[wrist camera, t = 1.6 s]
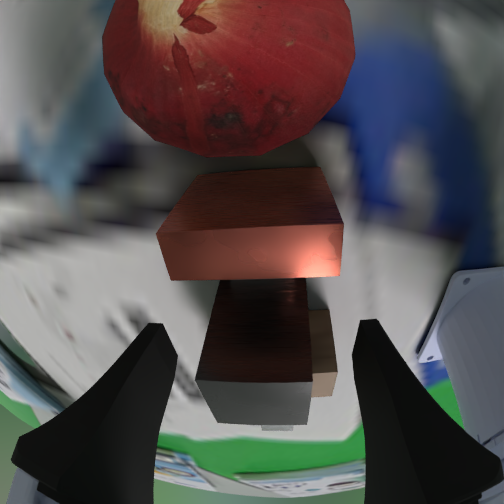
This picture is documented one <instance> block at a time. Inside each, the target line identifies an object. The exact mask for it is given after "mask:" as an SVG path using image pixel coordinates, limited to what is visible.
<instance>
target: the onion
mask: <svg viewBox="0 0 504 504" xmlns="http://www.w3.org/2000/svg"><path fill="white" fill-rule="evenodd" d="M102 43H103V63H104V75H105V77H106V79H107V81H108V83H109V85H110V87H111V89H112V91H113V93H114V95H115V97H116V99H117V101H118V103H119V105H120V107H121V109H122V110H123V112H124V113H125V114H126V115H127V116H128V117H129V118H131V119H132V120H133V121H134V122H135V123H136V124H137V125H138V126H139V127H141V128H142V129H143V130H144V131H145V132H146V133H147V134H148V135H149V136H151V137H152V138H153V139H154V140H155V141H159V142H162V143H165V144H169V145H172V146H175V147H178V148H181V149H184V150H187V151H190V152H193V153H196V154H199V155H201V156H204V157H226V156H260V155H262V154H264V153H267V152H269V151H271V150H273V149H275V148H277V147H279V146H281V145H283V144H286V143H288V142H290V141H292V140H294V139H297V138H299V137H301V136H303V135H306V134H308V133H309V132H310V131H311V130H312V129H313V127H314V126H315V125H316V124H317V123H318V122H319V121H320V120H321V119H322V117H323V116H324V115H325V114H326V113H327V112H328V111H329V110H330V109H331V108H332V107H333V105H334V104H335V103H336V102H337V101H338V100H339V99H340V97H341V94H342V92H343V89H344V86H345V84H346V81H347V78H348V75H349V73H350V70H351V67H352V65H353V62H354V59H355V46H354V37H353V30H352V22H351V16H350V11H349V8H348V7H347V5H346V3H345V1H344V0H116V1H115V3H114V6H113V8H112V11H111V14H110V16H109V19H108V22H107V25H106V27H105V30H104V33H103V36H102Z"/></svg>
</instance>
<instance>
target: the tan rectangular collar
mask: <svg viewBox="0 0 504 504" xmlns="http://www.w3.org/2000/svg"><path fill="white" fill-rule="evenodd" d="M308 312H309V325H310V339H311V354H312V372H313V386H312V393H311V397H325V396H332V393H333V389H334V385H335V381H336V377H337V373H338V370H337V362H336V354H335V346H334V338H333V331H332V324H331V317H330V311H329V310H308Z"/></svg>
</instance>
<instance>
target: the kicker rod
mask: <svg viewBox="0 0 504 504" xmlns="http://www.w3.org/2000/svg"><path fill="white" fill-rule="evenodd" d="M343 229H344V223H343V221H342V218H341V215H340V213H339V210H338V208H337V205H336V203H335V200H334V198H333V196H332V193H331V191H330V188H329V186H328V184H327V181H326V179H325V177H324V174H323V172H322V170H321V168H320V167H300V168H278V169H261V170H247V171H235V172H224V173H213V174H203V175H198V176H197V177H196V178H195V180H194V181H193V182H192V184H191V185H190V186H189V188H188V189H187V190H186V192H185V193H184V194H183V196H182V197H181V199H180V200H179V201H178V203H177V204H176V205H175V207H174V208H173V210H172V211H171V212H170V214H169V215H168V217H167V218H166V220H165V221H164V222H163V224H162V225H161V227H160V228H159V230H158V231H157V233H156V235H157V239H158V242H159V245H160V248H161V252H162V255H163V258H164V261H165V264H166V267H167V270H168V273H169V276H170V279H171V281H174V280H220V282H219V286H218V290H217V294H216V298H215V301H214V305H213V309H212V313H211V317H210V321H209V325H208V329H207V333H206V337H205V341H204V345H203V349H202V353H201V357H200V361H199V365H198V369H197V373H196V377H195V381H196V383H197V385H198V387H199V389H200V391H201V393H202V395H203V397H204V399H205V400H206V402H207V404H208V406H209V408H210V410H211V412H212V413H213V415H214V417H215V419H216V421H217V422H218V423H228V424H246V425H261V427H262V431H293V425H307V421H308V415H309V408H310V401H311V393H312V386H313V372H312V354H311V339H310V325H309V312H308V300H307V289H306V278H305V277H323V276H340V267H341V256H342V243H343Z"/></svg>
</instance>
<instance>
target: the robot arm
mask: <svg viewBox="0 0 504 504" xmlns="http://www.w3.org/2000/svg"><path fill="white" fill-rule="evenodd" d="M177 358H178V355H177V353H176V351H175V349H174V347H173V345H172V342H171V340H170V338H169V336H168V334H167V332H166V330H165V327H164V325H163V324H161V323H148V324H147V326H146V327H145V328H144V329H143V330H142V331H141V332H140V334H139V335H138V336H137V337H136V338H135V339H134V341H133V342H132V343H131V344H130V345H129V347H128V348H127V349H126V350H125V351H124V352H123V354H122V355H121V356H120V357H119V358H118V359H117V361H116V362H115V363H114V364H113V365H112V366H111V367H110V368H109V369H108V371H107V372H106V373H105V374H104V375H103V376H102V377H101V378H100V379H99V380H98V381H97V382H96V383H95V384H94V385H93V386H92V387H91V388H90V389H89V390H88V391H87V392H86V393H85V394H83V395H82V396H81V397H80V398H79V399H78V400H77V401H75V402H74V403H73V404H72V405H70V406H69V407H68V408H66V409H65V410H64V411H62V412H61V413H60V414H58V415H57V416H56V417H54V418H53V419H51V420H49V421H48V422H46V423H45V424H43V425H41V426H40V427H38V428H36V429H34V430H32V431H30V432H28V433H26V434H24V435H22V436H20V437H19V439H18V441H17V444H16V447H15V450H14V452H13V455H12V458H11V461H12V463H13V464H15V465H16V466H17V467H19V468H17V470H16V472H15V476H14V479H13V482H12V485H11V489H10V492H9V496H8V499H7V503H6V504H153V503H154V502H153V485H154V484H153V483H154V482H153V481H154V467H155V457H156V449H157V442H158V436H159V431H160V426H161V423H162V419H163V416H164V412H165V409H166V405H167V402H168V398H169V395H170V392H171V388H172V385H173V381H174V377H175V371H176V365H177ZM440 359H443V361H444V363H445V366H446V369H447V372H448V375H449V378H450V381H451V384H452V387H453V390H454V393H455V396H456V400H457V403H458V407H459V410H460V414H461V417H462V421H463V425H464V429H465V430H464V429H463V428H462V427H460V426H459V425H458V424H457V423H456V422H455V421H454V420H453V419H452V418H451V417H450V416H449V415H448V414H447V413H446V412H445V411H444V410H443V409H442V408H441V407H440V405H439V404H438V403H437V402H436V401H435V400H434V399H433V398H432V396H431V395H430V394H429V393H428V392H427V390H426V389H425V388H424V387H423V385H422V384H421V383H420V381H419V380H418V379H417V378H416V376H415V375H414V373H413V372H412V371H411V369H410V368H409V367H408V365H407V364H406V362H405V361H404V359H403V358H402V357H401V355H400V354H399V352H398V351H397V349H396V348H395V346H394V345H393V343H392V342H391V340H390V339H389V337H388V335H387V334H386V332H385V331H384V329H383V327H382V326H381V324H380V323H379V321H378V320H377V319H369V320H360V323H359V328H358V332H357V336H356V340H355V344H354V348H353V352H352V360H353V371H354V380H355V385H356V390H357V395H358V400H359V406H360V411H361V416H362V422H363V428H364V435H365V453H366V482H365V501H364V504H504V267H495V268H485V269H474V270H463V271H458V272H456V273H454V274H453V275H452V277H451V279H450V282H449V285H448V288H447V290H446V293H445V296H444V298H443V301H442V303H441V306H440V308H439V310H438V313H437V315H436V318H435V320H434V322H433V324H432V327H431V329H430V331H429V333H428V335H427V337H426V340H425V342H424V344H423V346H422V348H421V350H420V352H419V354H418V356H417V360H418V362H420V363H424V362H429V361H434V360H440Z"/></svg>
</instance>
